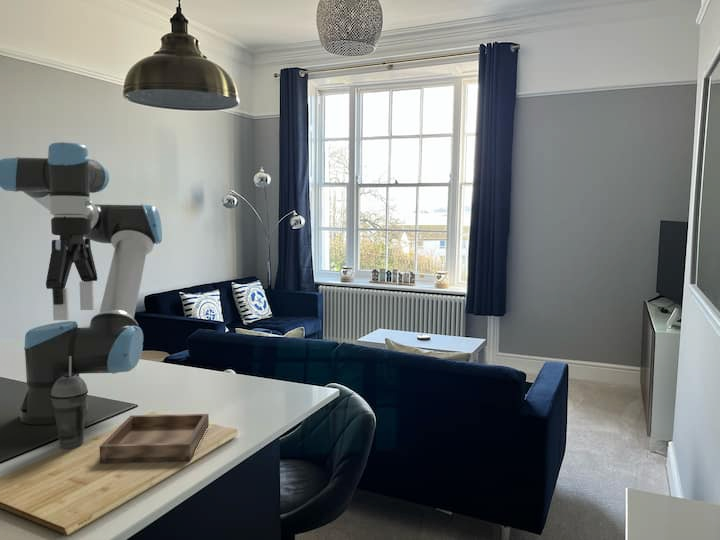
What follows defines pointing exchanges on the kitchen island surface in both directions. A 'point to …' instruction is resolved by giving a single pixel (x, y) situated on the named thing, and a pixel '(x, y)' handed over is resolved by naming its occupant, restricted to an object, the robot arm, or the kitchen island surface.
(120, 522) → the kitchen island surface
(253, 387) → the kitchen island surface
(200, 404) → the kitchen island surface
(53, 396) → the beverage cup
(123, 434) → the serving tray
